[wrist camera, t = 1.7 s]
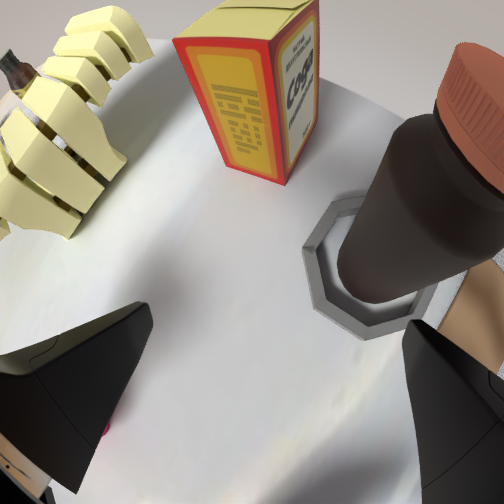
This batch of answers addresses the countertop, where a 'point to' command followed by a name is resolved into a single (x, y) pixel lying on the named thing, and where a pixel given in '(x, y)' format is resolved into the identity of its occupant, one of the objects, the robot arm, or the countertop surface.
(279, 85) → the baking soda box
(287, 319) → the countertop surface
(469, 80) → the vinegar
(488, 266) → the pad
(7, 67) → the sauce bottle
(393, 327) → the octagonal ring
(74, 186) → the slatted curved stool
